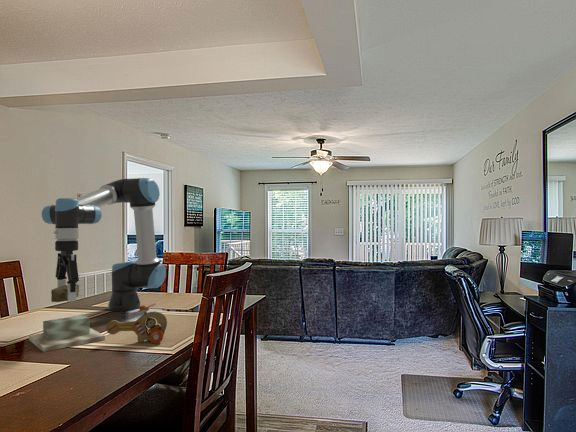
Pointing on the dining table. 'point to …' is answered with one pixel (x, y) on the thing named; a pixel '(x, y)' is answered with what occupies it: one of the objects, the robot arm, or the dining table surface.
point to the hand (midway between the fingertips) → (66, 299)
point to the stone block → (62, 293)
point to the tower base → (65, 341)
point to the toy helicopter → (142, 325)
